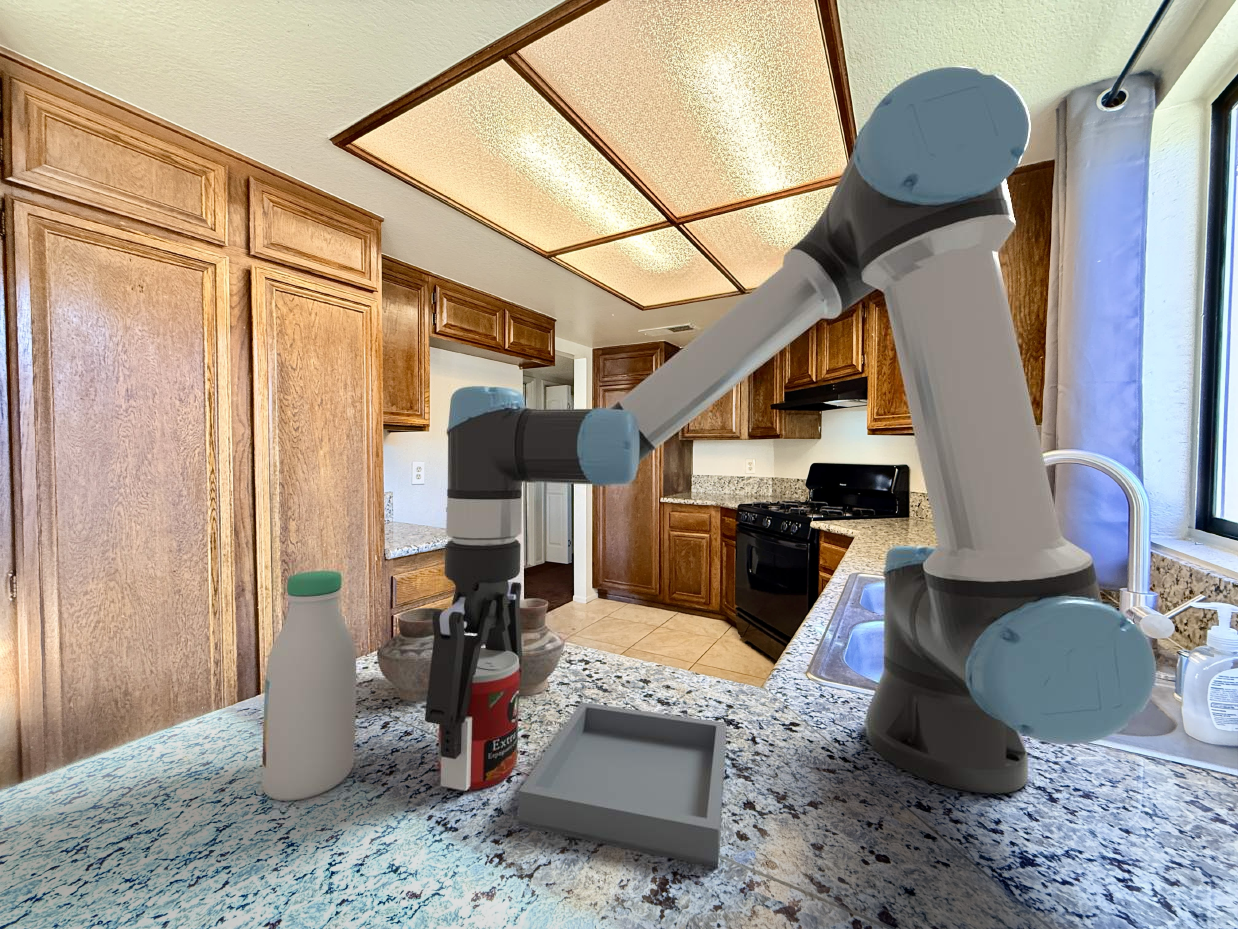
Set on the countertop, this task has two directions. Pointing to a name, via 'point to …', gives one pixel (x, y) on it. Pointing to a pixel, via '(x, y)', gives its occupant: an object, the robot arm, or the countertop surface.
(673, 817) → the tray
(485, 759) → the canned food
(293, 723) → the milk bottle
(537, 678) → the pottery
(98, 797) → the countertop surface
